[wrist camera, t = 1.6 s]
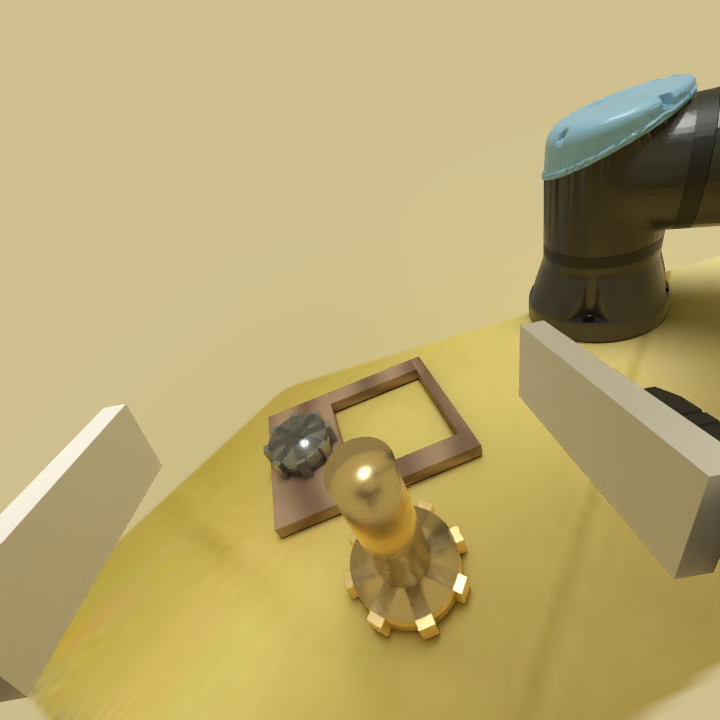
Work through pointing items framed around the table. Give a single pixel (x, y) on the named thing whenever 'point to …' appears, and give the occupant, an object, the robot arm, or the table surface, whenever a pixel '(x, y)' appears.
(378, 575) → the planet gear
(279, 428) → the sun gear
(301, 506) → the plate
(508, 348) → the table surface
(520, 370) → the robot arm
